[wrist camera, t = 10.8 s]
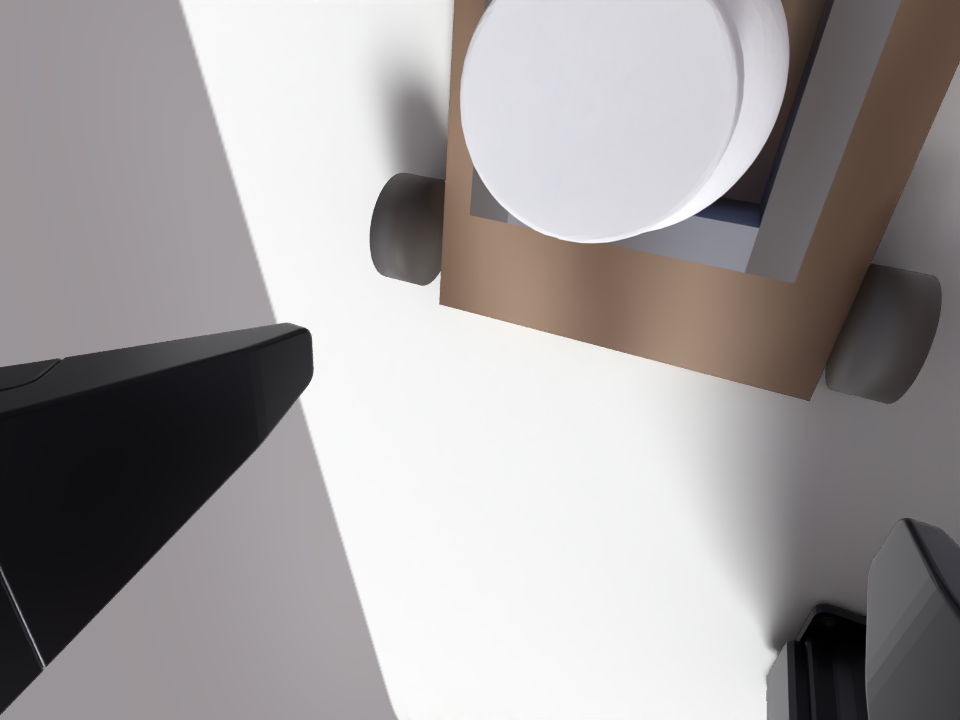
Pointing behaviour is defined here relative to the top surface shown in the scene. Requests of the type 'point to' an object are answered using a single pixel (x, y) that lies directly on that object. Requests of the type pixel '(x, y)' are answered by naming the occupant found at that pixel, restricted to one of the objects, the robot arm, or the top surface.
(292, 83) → the top surface
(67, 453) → the robot arm
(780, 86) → the pill bottle
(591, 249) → the chassis
